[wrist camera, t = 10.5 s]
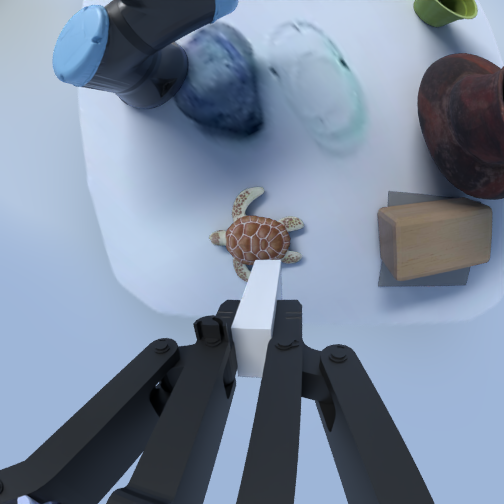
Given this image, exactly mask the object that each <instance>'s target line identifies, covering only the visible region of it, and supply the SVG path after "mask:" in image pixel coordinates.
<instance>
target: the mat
mask: <svg viewBox="0 0 504 504" xmlns="http://www.w3.org/2000/svg"><path fill="white" fill-rule="evenodd" d="M445 199H453V198H449V197H441V196H433V195H424V194H414V193H403V192H391V191H389V193H388V207H390V206H398V205H405V204H413V203H421V202H429V201H437V200H445ZM476 202H478V201H476ZM479 203H481V202H479ZM470 267H471V266H470ZM470 267H466V268H461V269H457V270H453V271H448V272H444V273H439V274H434V275H429V276H424V277H420V278H414V279H409V280H404V281H397V280H395V278H394V277H393V275H392V274H391V272H390V271H389V270H388V268H387V267H386V265H385V264H384V263H383V261H382V264H381V271H380V277H379V284H378V286H453V285H466V283H467V279H468V275H469V271H470Z"/></svg>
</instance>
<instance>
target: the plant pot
mask: <svg viewBox="0 0 504 504" xmlns="http://www.w3.org/2000/svg"><path fill="white" fill-rule="evenodd" d="M414 10H415V12H416V13H417V14H418V16H419V17H420V19H421V20H423V21H424V22H425V23H427V24H429V25H431V26H433V27H441V26H444V25H446V24H449V23H451V22H454V21H456V20H459V19H473V18H475V17H476V16H477V12H478V10H477V5H476V3H475V1H474V0H415V2H414Z"/></svg>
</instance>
